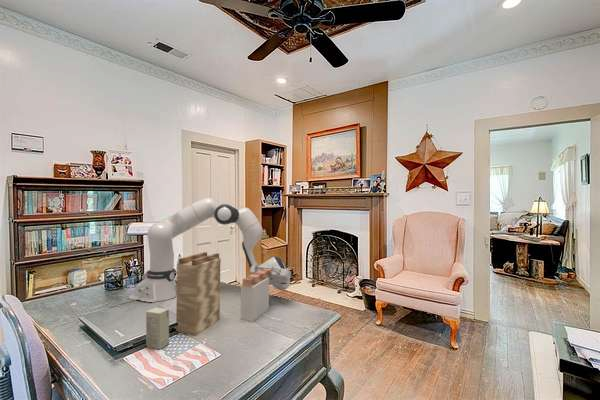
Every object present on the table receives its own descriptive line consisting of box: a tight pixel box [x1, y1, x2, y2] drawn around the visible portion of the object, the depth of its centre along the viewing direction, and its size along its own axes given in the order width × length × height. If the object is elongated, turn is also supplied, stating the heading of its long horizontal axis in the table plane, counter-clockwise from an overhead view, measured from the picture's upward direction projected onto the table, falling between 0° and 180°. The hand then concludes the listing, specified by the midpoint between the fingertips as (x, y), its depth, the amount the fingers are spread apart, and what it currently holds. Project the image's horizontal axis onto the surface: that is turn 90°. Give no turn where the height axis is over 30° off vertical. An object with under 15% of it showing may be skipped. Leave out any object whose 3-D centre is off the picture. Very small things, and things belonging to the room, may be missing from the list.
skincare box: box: [145, 306, 170, 350], centre depth 98 cm, size 6×4×12 cm
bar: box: [242, 269, 272, 287], centre depth 128 cm, size 20×4×3 cm, turn 161°
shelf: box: [239, 278, 270, 323], centre depth 126 cm, size 15×6×14 cm, turn 161°
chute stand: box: [175, 251, 221, 337], centre depth 113 cm, size 15×9×28 cm, turn 161°
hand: (264, 267), depth 134 cm, fingers open, 8 cm apart
